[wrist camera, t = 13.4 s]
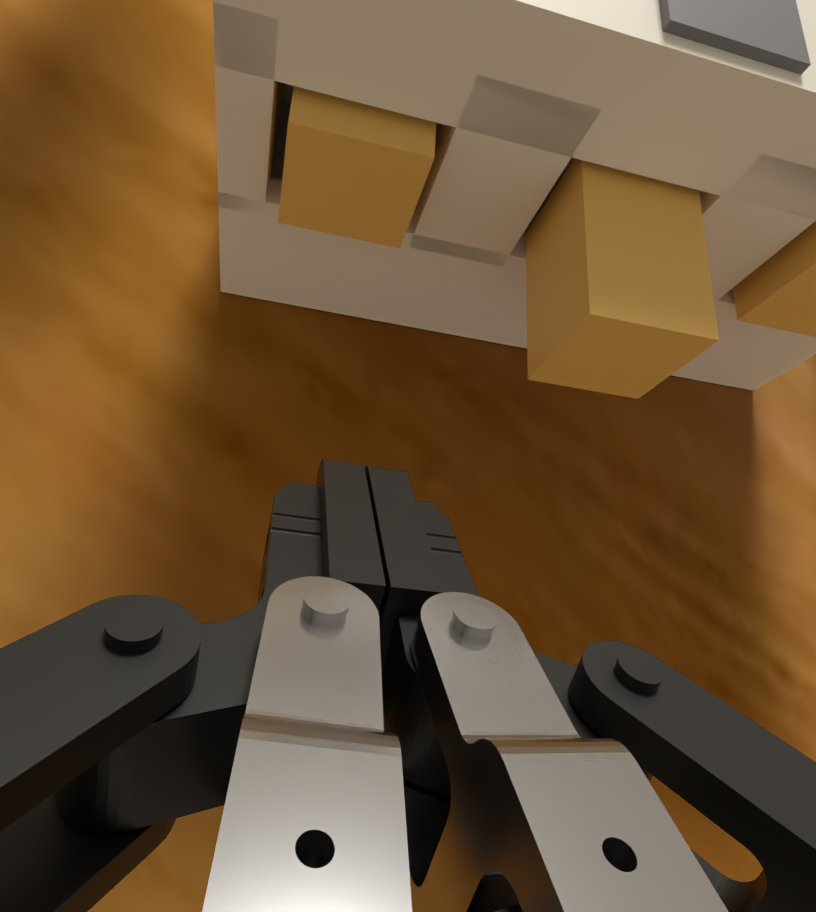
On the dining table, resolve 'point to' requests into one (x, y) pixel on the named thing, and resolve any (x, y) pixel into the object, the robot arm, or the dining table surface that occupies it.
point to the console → (522, 146)
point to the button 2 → (616, 282)
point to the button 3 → (782, 288)
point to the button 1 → (353, 168)
